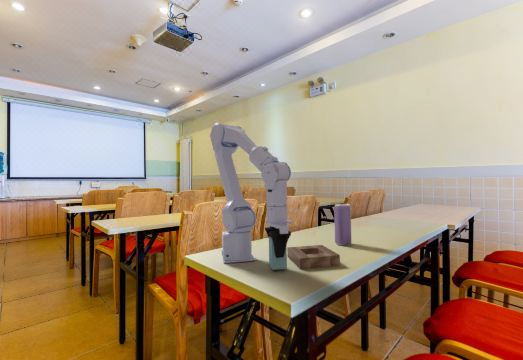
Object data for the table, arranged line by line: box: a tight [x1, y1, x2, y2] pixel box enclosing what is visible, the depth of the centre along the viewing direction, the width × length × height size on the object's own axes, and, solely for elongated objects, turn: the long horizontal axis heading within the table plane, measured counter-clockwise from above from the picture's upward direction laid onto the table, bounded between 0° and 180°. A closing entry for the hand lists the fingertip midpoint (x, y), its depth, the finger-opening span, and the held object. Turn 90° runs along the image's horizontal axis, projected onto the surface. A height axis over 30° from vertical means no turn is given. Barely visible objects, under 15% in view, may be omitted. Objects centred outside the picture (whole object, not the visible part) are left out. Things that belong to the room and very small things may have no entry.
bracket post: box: [268, 237, 288, 271], centre depth 71 cm, size 4×4×8 cm
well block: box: [287, 244, 341, 270], centre depth 78 cm, size 12×12×3 cm
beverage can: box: [333, 203, 352, 247], centre depth 97 cm, size 6×6×15 cm
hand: (277, 254), depth 71 cm, fingers closed on bracket post, 4 cm apart
